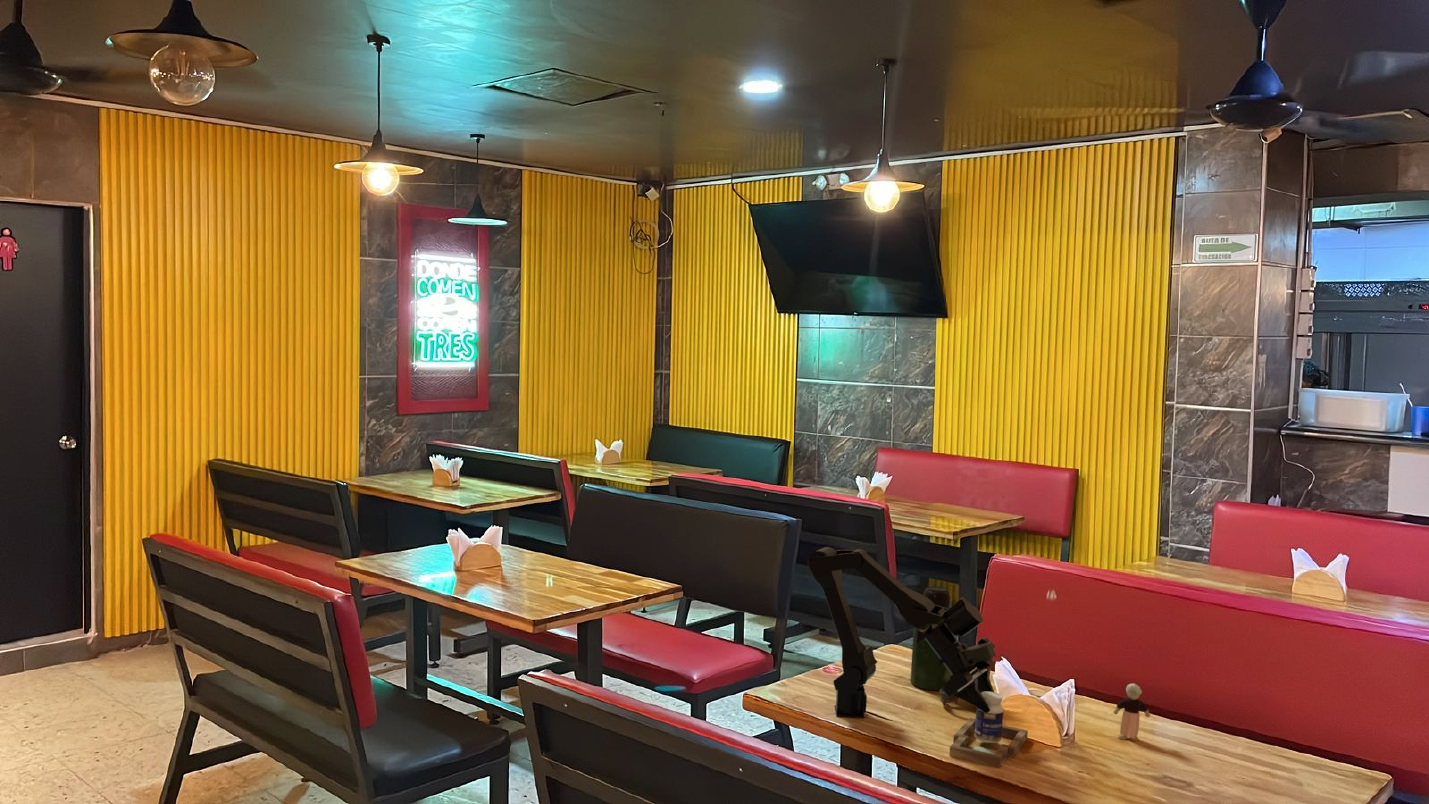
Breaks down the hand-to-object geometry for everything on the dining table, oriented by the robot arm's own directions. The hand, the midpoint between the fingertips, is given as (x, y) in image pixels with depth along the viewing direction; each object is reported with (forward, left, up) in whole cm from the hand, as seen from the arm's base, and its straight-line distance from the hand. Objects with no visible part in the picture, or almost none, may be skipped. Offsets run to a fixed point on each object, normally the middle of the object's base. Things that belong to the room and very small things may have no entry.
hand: (992, 708), depth 233 cm
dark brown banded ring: (-1, +23, -9) cm, 25 cm away
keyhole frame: (-1, -2, -8) cm, 9 cm away
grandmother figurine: (+33, +9, -8) cm, 36 cm away
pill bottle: (-1, 0, -7) cm, 7 cm away
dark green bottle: (-7, +39, -8) cm, 40 cm away
